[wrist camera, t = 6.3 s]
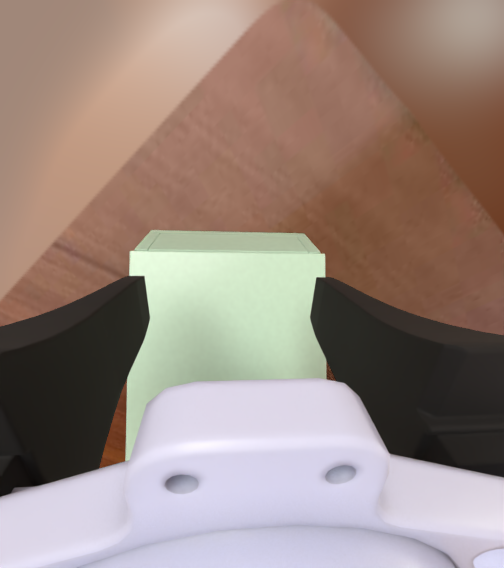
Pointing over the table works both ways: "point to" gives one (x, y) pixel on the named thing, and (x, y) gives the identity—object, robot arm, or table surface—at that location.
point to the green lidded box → (226, 242)
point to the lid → (223, 322)
